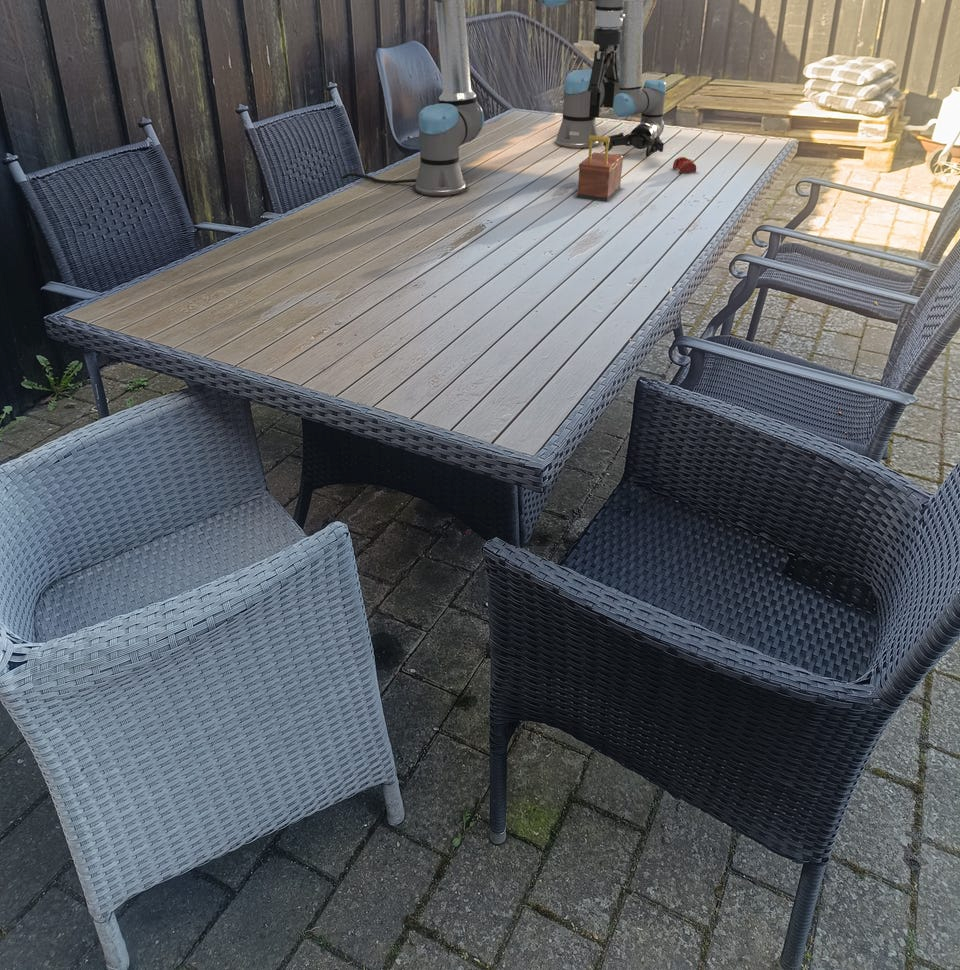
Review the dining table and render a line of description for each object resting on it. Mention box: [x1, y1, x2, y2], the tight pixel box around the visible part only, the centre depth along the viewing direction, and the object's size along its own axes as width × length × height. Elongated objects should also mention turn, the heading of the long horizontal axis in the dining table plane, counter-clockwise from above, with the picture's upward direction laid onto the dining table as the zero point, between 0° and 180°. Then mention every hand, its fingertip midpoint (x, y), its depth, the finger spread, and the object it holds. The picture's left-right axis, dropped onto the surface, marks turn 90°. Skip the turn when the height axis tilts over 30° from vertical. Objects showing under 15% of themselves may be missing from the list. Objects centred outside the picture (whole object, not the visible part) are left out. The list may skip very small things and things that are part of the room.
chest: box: [577, 159, 624, 202], centre depth 253 cm, size 14×9×9 cm
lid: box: [578, 135, 624, 171], centre depth 248 cm, size 14×9×8 cm, turn 156°
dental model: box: [672, 156, 697, 174], centre depth 274 cm, size 6×4×8 cm
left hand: (601, 112), depth 239 cm, fingers open, 13 cm apart
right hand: (626, 150), depth 272 cm, fingers open, 13 cm apart
